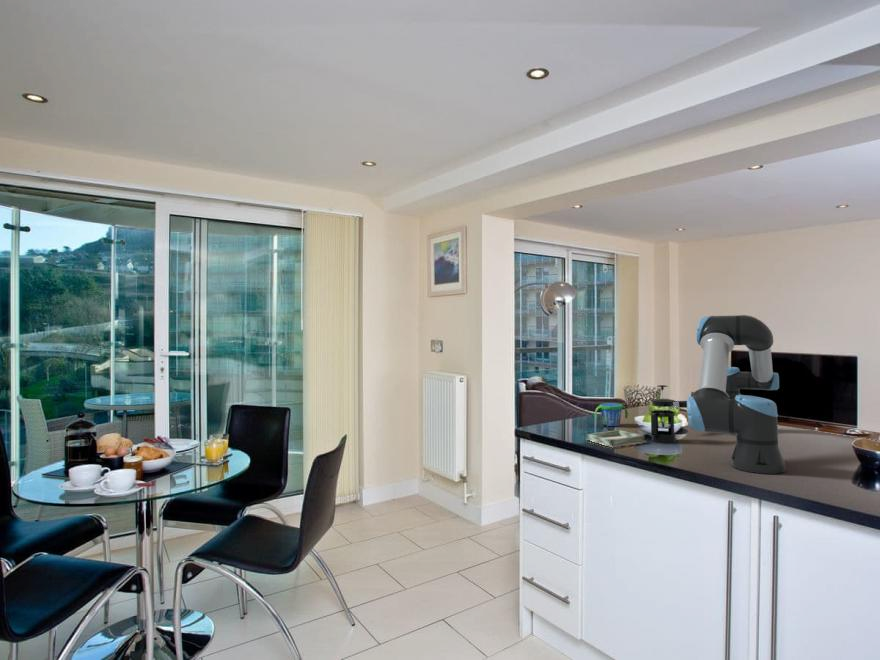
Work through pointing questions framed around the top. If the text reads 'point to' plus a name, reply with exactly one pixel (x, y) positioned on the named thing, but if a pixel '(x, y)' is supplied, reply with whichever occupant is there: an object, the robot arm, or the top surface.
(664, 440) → the french press
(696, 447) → the top surface
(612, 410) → the snack cup
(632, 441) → the tray
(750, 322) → the robot arm
